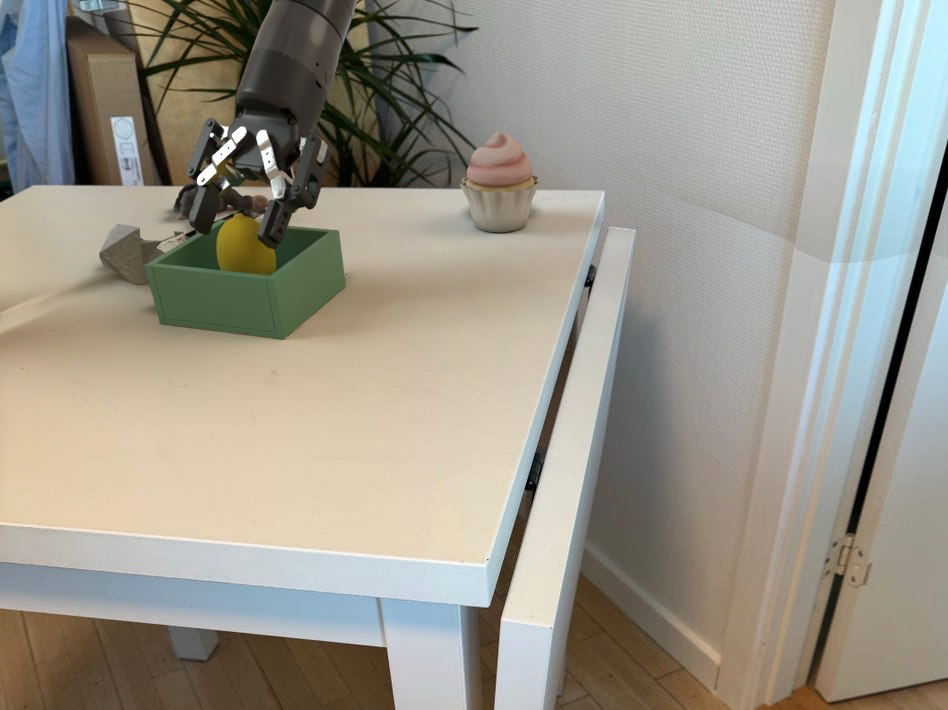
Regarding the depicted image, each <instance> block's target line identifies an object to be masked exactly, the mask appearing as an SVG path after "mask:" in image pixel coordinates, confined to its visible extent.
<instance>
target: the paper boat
mask: <svg viewBox="0 0 948 710" xmlns="http://www.w3.org/2000/svg"><path fill="white" fill-rule="evenodd" d="M173 234H174V235H172V236H170V237H167V238H165V239H163V240H154V239H153V240H150V239H149V240H147V239H146V240H145V239H143V238H142V237H141V229H140V227H139V226H135V225H128V224H123V223H117V224H115V226H113V227H112V228H111V229H110V230H109V232H108V234H107V236H106V238H105V240H104V242H103V245H102V247H101V249H100V251H99V253H98V256H99V259H100V262H101V264H102V265H103V267H105V268H107V269H109V270H110V271H111V272H113V273H115V274H117V275H118V276H120V277H121V278H123V279H125V280H126V281H128V282H129V283H131V284H132V285H135V286H136V285H145V284H146V283H149V281H148V277H147V273H146V270H145V265H146V264H148V263H149V262H151V261H153V260H154V259H156V258H158V257H159V256H161V255H163V254H164V253H165V252H164V251H163V250H161V249H159V248H158V247H159V246H160V245H161V244H162V243H164V242H166V241H168V240H170V239H173V238H177V237H179V236H181V235H184V234H185V231H177V230H176V231H175V230H174V231H173Z"/></svg>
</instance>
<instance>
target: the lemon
mask: <svg viewBox="0 0 948 710" xmlns="http://www.w3.org/2000/svg"><path fill="white" fill-rule="evenodd" d="M235 213H236V212H235ZM260 223H261V222H259V221H257V219H255V218H254V219H252V218H249V217H246V216H244V215H243V214H242V213H236V214H235V215H234V217H233V218H231V219H229V220H228V221H227V222H225V223H224V224H223V226H222V227H221V229H220V231H219V233H218V237H217V246H216V249H217V259H218V263H219V267H220V269H221V270H222V271H232V272H241V273H250V274H260V275H269V276H270V275H272V274H273V273H274V272H276V256H275V251H274V249H271V248H267V247H266V246H265V245H264V244H263V243H261V242H260V241H259V240H258V237H257V234H258V231H259V228H260V225H261V224H260Z"/></svg>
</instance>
